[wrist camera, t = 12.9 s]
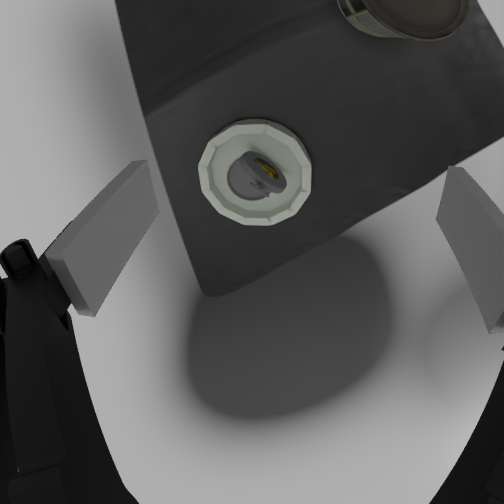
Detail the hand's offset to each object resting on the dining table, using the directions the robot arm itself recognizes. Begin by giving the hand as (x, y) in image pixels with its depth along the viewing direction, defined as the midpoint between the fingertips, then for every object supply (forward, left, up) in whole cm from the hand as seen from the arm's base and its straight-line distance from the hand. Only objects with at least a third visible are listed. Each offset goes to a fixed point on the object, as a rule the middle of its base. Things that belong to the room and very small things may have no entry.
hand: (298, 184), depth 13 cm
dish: (+12, -6, -29) cm, 32 cm away
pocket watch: (+12, -6, -28) cm, 31 cm away
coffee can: (-12, +10, -29) cm, 33 cm away
